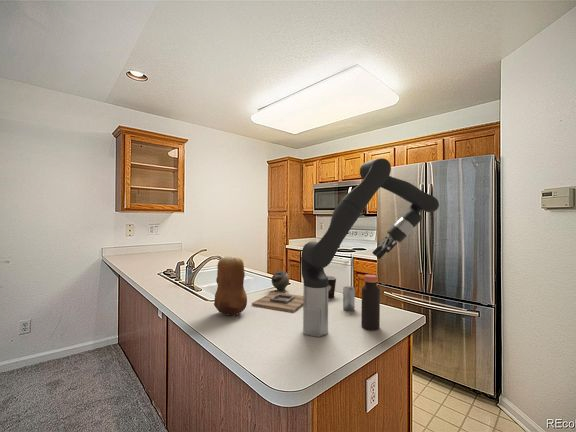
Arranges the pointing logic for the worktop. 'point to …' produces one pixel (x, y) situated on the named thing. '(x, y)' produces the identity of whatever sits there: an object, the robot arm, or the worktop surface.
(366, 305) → the bottle
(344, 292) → the steel hub
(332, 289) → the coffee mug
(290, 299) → the pocket base
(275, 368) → the worktop surface
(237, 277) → the butternut squash
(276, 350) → the worktop surface
